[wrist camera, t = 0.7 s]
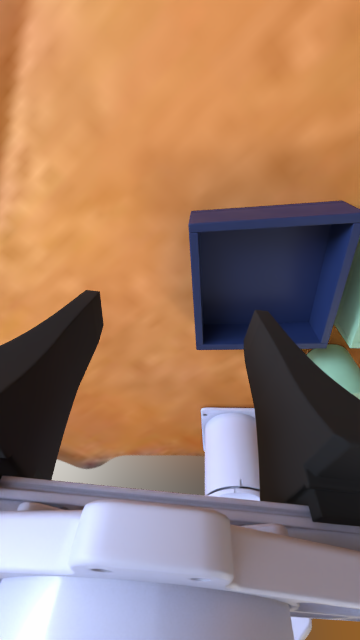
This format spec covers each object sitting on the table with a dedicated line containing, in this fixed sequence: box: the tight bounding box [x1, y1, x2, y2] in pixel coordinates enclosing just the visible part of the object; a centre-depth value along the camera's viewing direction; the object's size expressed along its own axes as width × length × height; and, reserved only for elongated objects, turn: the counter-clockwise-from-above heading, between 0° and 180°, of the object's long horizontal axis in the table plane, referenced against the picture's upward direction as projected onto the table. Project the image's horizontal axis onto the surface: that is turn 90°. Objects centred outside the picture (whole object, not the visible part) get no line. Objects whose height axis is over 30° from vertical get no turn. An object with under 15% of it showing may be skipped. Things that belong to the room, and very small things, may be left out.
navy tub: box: [189, 201, 360, 350], centre depth 21 cm, size 11×11×4 cm
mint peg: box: [307, 344, 360, 399], centre depth 25 cm, size 4×4×6 cm
